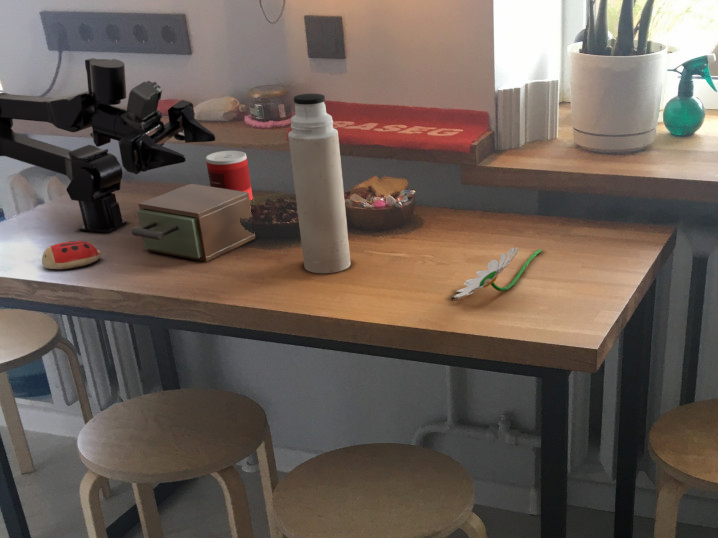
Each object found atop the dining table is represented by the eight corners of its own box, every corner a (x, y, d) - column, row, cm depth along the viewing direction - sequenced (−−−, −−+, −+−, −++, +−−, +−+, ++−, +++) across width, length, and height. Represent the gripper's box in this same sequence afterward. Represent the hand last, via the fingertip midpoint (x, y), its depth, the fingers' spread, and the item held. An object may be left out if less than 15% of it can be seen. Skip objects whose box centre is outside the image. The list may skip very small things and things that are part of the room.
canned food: (259, 206, 205) (251, 150, 199) (247, 218, 198) (238, 161, 192) (222, 205, 205) (213, 150, 199) (209, 217, 199) (199, 160, 193)
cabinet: (206, 261, 178) (198, 213, 173) (148, 250, 183) (138, 203, 178) (255, 238, 188) (248, 192, 183) (198, 228, 193) (190, 183, 188)
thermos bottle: (317, 255, 180) (298, 88, 164) (358, 260, 177) (342, 91, 162) (296, 270, 173) (274, 99, 158) (337, 275, 171) (319, 101, 156)
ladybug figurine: (41, 262, 178) (35, 243, 177) (99, 253, 182) (94, 234, 180) (45, 274, 173) (40, 254, 171) (105, 264, 177) (100, 245, 175)
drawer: (177, 268, 173) (170, 229, 169) (123, 257, 178) (115, 219, 174) (244, 237, 186) (238, 200, 182) (192, 228, 191) (185, 192, 187)
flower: (562, 219, 176) (498, 255, 151) (576, 247, 177) (515, 288, 152) (501, 253, 182) (430, 293, 157) (515, 280, 183) (448, 324, 158)
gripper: (82, 101, 169) (162, 124, 166) (149, 62, 182) (225, 83, 178) (94, 163, 177) (171, 187, 174) (158, 122, 190) (230, 143, 186)
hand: (200, 148), depth 178 cm, fingers open, 9 cm apart
